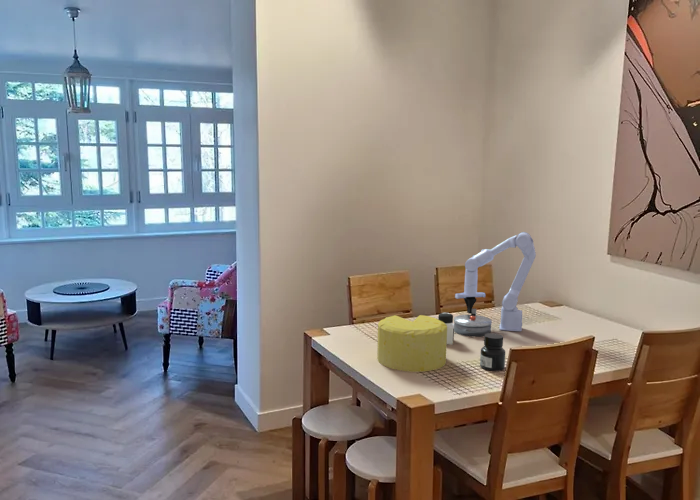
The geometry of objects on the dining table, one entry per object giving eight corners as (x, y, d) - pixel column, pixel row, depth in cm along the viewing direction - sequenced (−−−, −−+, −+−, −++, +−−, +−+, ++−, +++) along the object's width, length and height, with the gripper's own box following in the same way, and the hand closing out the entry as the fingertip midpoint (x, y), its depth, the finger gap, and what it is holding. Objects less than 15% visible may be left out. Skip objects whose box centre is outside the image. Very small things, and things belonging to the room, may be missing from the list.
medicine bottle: (453, 344, 248) (454, 316, 246) (435, 343, 249) (436, 315, 247) (453, 339, 254) (454, 312, 253) (436, 338, 256) (437, 311, 254)
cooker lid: (491, 328, 256) (491, 322, 256) (452, 325, 260) (452, 319, 260) (492, 315, 278) (492, 309, 277) (456, 312, 281) (456, 307, 281)
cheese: (402, 344, 247) (403, 309, 245) (458, 358, 231) (460, 321, 228) (363, 360, 227) (364, 322, 225) (421, 377, 211) (423, 336, 208)
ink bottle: (476, 362, 226) (478, 332, 224) (499, 362, 227) (501, 331, 225) (484, 372, 217) (485, 339, 215) (508, 371, 217) (510, 339, 215)
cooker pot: (490, 338, 257) (491, 329, 257) (453, 335, 261) (453, 326, 260) (490, 325, 277) (490, 316, 277) (455, 322, 281) (455, 314, 280)
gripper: (480, 281, 281) (478, 309, 283) (452, 282, 276) (451, 311, 278) (488, 284, 274) (486, 313, 276) (459, 286, 270) (458, 315, 272)
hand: (469, 312), depth 277 cm, fingers closed, pressing on cooker lid
